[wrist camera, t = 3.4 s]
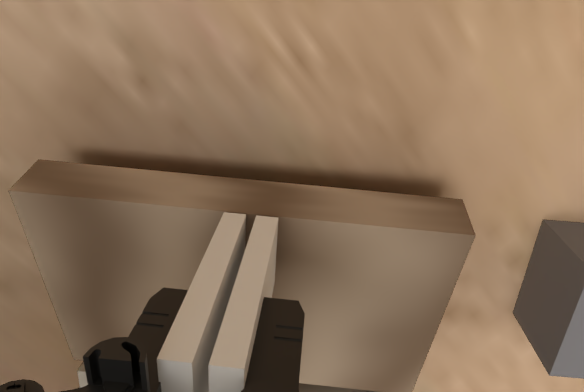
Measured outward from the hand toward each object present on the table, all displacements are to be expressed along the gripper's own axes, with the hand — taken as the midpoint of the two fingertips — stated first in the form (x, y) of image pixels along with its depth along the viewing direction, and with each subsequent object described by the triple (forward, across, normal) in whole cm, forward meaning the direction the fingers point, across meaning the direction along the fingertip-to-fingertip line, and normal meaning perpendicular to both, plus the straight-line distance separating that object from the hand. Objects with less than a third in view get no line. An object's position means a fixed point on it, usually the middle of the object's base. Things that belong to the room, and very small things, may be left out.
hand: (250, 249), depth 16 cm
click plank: (+3, -1, -3) cm, 5 cm away
